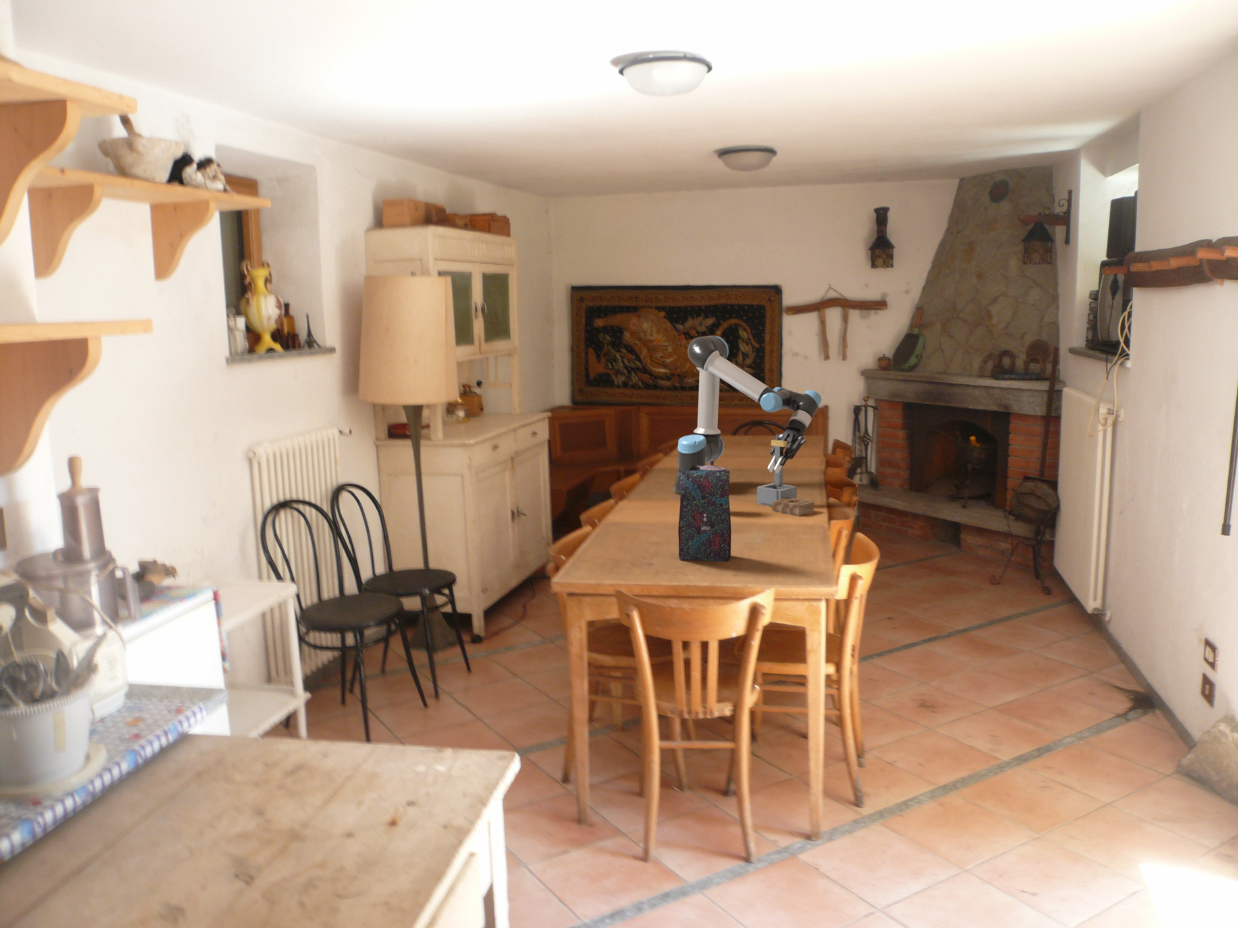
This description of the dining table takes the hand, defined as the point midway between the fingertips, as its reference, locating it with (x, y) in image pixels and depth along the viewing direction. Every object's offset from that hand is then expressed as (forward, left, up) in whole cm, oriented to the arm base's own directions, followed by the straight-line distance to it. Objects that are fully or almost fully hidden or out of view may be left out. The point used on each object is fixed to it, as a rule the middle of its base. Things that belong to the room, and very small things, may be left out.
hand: (772, 470), depth 374 cm
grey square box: (-1, +4, -14) cm, 14 cm away
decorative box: (+30, -76, -14) cm, 83 cm away
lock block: (+12, -3, -14) cm, 19 cm away
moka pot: (-11, -26, -14) cm, 31 cm away
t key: (0, +4, -7) cm, 8 cm away
